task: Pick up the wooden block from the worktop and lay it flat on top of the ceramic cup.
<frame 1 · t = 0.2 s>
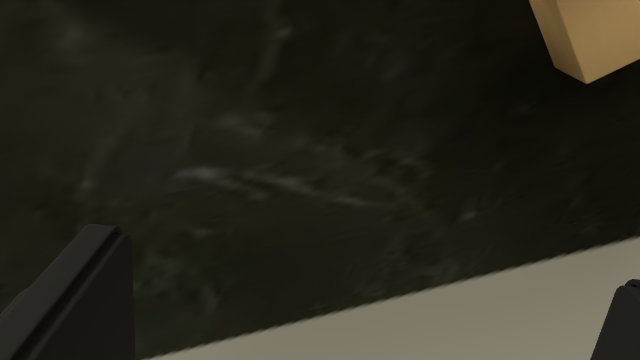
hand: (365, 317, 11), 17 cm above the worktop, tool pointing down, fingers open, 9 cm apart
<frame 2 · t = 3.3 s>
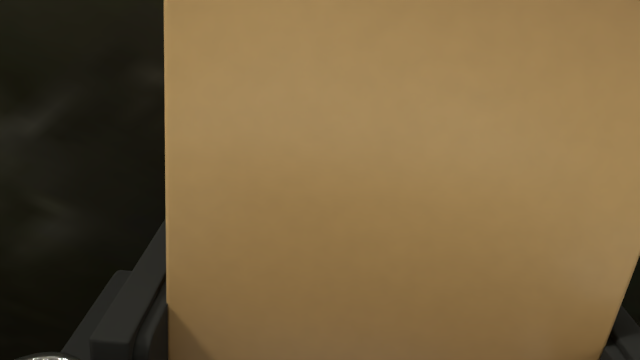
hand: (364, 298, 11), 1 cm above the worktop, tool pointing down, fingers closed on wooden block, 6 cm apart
wooden block: (362, 279, 12), on the worktop, touching gripper
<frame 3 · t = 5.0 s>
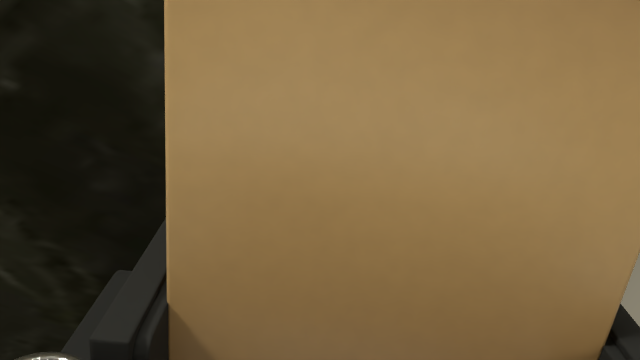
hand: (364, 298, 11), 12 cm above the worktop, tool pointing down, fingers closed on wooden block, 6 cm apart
wooden block: (362, 279, 12), point 11 cm above the worktop, touching gripper
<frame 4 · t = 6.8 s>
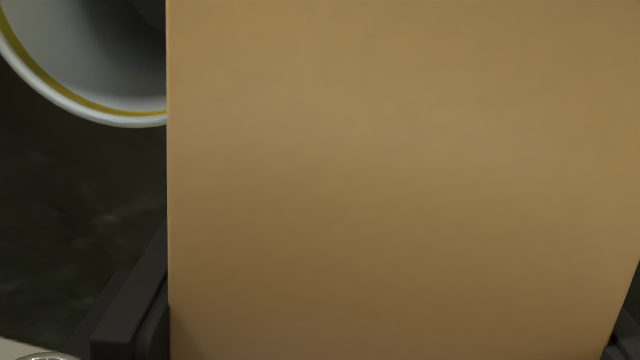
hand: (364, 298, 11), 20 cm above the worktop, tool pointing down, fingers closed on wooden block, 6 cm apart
wooden block: (363, 281, 12), point 19 cm above the worktop, touching gripper
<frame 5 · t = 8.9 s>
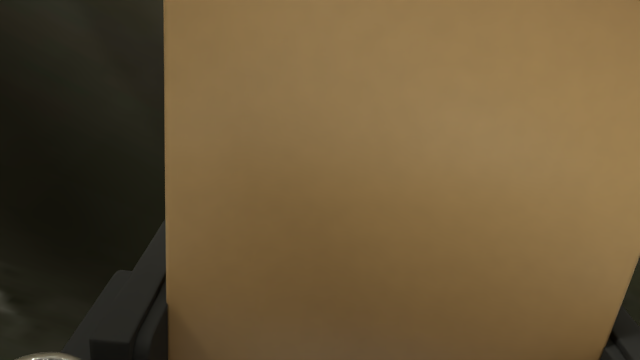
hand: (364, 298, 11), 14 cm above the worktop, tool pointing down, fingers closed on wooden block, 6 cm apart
wooden block: (362, 281, 12), point 13 cm above the worktop, touching gripper
when the fingers open (11 cm above the worktop, at t = 10.3 s): wooden block stays where it is, resting on ceramic cup.
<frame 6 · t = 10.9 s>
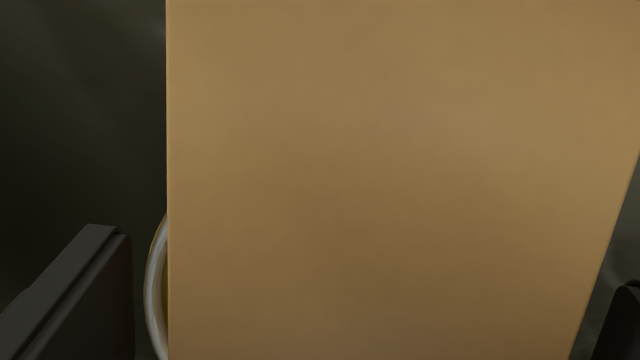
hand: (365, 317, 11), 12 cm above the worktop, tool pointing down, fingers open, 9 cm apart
ceramic cup: (347, 130, 22), on the worktop, touching wooden block
wooden block: (355, 270, 12), point 10 cm above the worktop, touching ceramic cup
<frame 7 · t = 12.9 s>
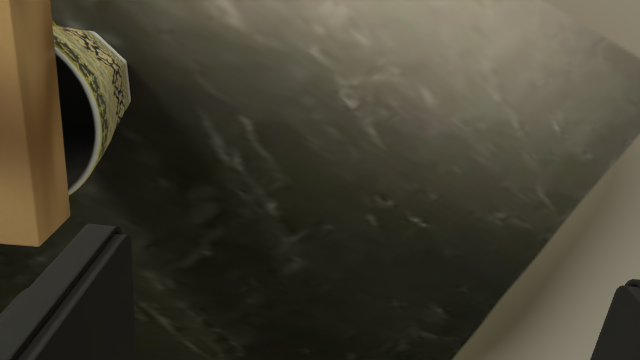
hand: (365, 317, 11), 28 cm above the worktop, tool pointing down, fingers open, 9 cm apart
ceramic cup: (81, 56, 37), on the worktop, touching wooden block
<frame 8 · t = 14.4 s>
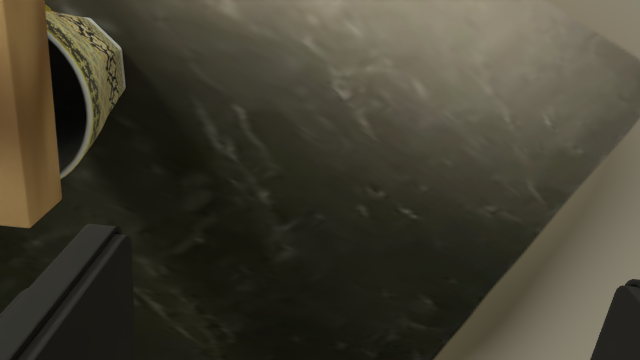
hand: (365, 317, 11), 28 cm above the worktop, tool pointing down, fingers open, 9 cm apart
ceramic cup: (77, 42, 37), on the worktop, touching wooden block
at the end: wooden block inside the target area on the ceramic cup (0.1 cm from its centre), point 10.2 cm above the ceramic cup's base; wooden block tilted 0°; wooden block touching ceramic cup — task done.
